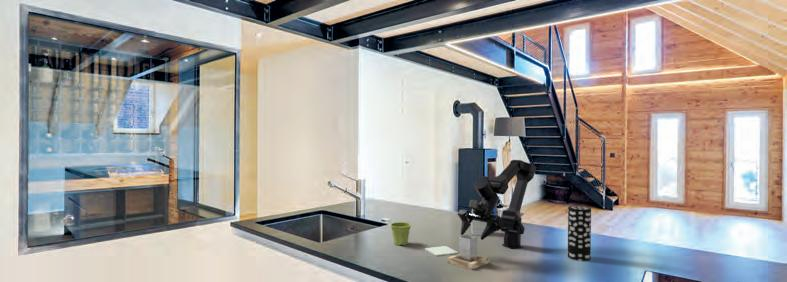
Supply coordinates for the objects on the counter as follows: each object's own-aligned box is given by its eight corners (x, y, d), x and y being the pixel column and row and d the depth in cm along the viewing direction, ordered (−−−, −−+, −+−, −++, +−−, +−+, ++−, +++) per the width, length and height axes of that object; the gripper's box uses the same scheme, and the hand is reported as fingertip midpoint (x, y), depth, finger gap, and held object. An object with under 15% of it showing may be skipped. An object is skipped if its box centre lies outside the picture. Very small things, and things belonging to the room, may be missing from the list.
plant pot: (403, 247, 171) (403, 227, 171) (385, 244, 177) (386, 224, 177) (415, 243, 179) (415, 224, 179) (398, 239, 184) (398, 221, 184)
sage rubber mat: (445, 247, 173) (445, 245, 173) (457, 253, 164) (457, 252, 164) (424, 249, 169) (425, 248, 169) (436, 256, 160) (436, 254, 160)
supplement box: (486, 235, 193) (487, 209, 193) (471, 234, 195) (471, 209, 195) (486, 232, 201) (486, 207, 200) (471, 231, 202) (471, 206, 202)
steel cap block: (466, 260, 155) (466, 234, 155) (476, 263, 151) (477, 237, 151) (459, 262, 152) (459, 236, 152) (469, 265, 148) (470, 239, 148)
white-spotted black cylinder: (588, 255, 162) (589, 206, 161) (591, 262, 154) (592, 210, 153) (566, 253, 164) (567, 205, 164) (568, 259, 156) (569, 209, 156)
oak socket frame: (464, 256, 159) (464, 251, 159) (488, 263, 151) (488, 257, 151) (447, 262, 152) (447, 257, 152) (471, 269, 144) (471, 264, 144)
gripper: (460, 189, 163) (443, 220, 156) (500, 194, 150) (483, 228, 142) (471, 206, 169) (455, 236, 161) (511, 213, 155) (495, 246, 148)
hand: (471, 236), depth 153 cm, fingers open, 9 cm apart
